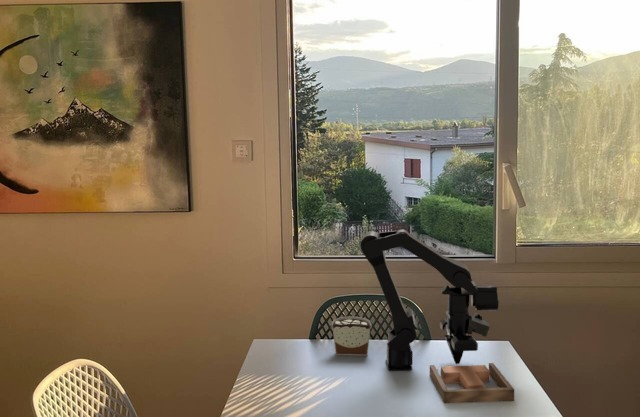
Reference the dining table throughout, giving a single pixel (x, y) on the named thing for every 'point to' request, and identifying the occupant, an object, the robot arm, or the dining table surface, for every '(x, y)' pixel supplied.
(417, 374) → the dining table surface
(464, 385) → the terracotta T block
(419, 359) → the dining table surface
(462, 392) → the walnut bay
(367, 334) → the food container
